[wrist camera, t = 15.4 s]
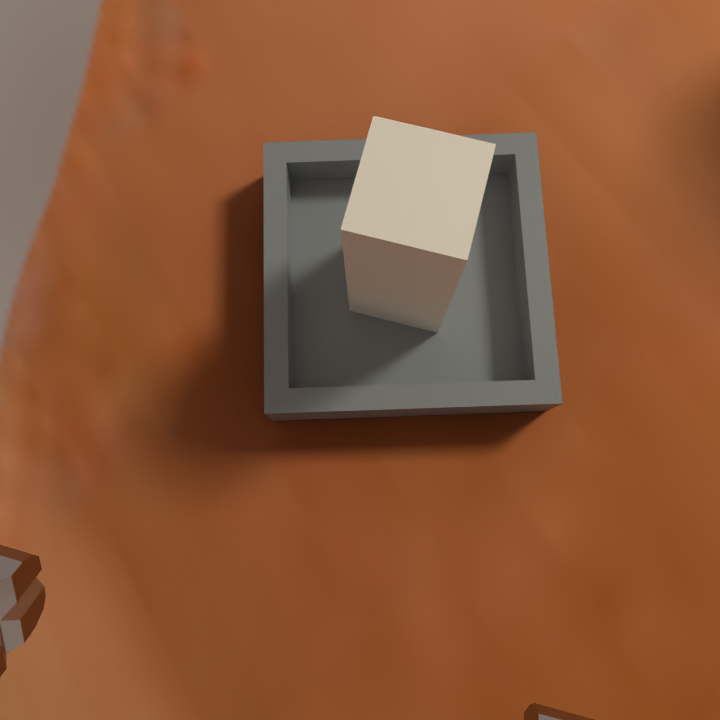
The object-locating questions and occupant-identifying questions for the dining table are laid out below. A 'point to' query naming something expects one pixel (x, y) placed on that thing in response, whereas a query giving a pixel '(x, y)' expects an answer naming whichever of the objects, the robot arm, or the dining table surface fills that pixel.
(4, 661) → the robot arm
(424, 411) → the grey tray
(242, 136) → the dining table surface
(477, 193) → the cream block
